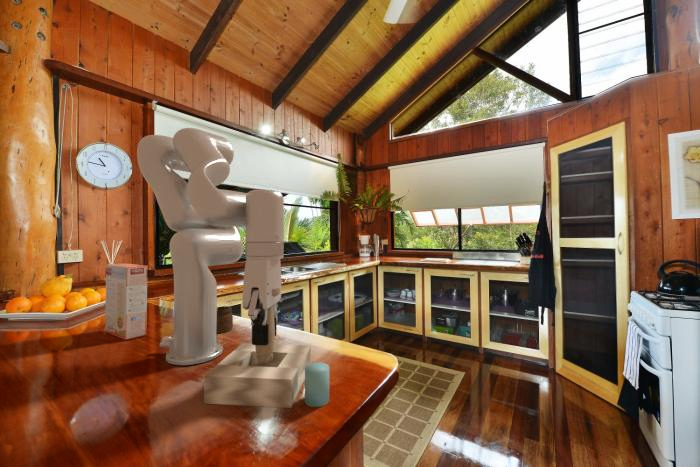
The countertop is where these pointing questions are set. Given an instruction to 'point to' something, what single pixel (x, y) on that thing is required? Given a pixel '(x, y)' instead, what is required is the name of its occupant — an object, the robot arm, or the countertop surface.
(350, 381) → the countertop surface
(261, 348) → the handle
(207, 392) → the socket block
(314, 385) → the short dowel
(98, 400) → the countertop surface
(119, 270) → the cracker box
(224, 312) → the utensil holder
